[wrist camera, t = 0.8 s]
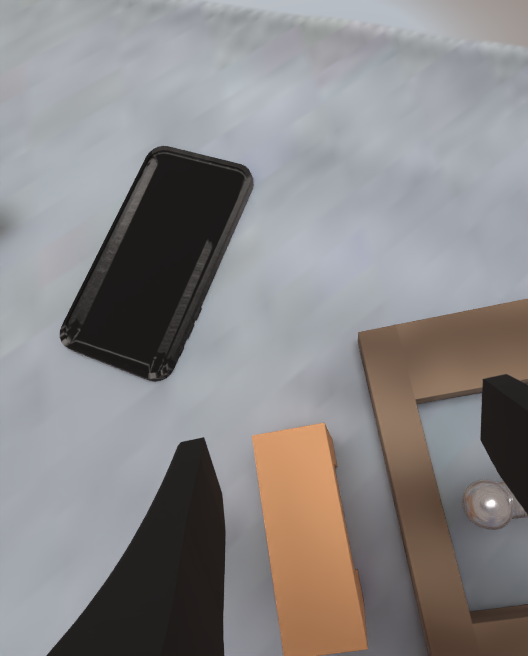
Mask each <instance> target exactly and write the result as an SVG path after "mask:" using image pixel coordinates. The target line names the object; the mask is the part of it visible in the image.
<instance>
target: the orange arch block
mask: <svg viewBox="0 0 528 656" xmlns="http://www.w3.org/2000/svg"><path fill="white" fill-rule="evenodd" d="M252 440H253V447H254V454H255V461H256V468H257V474H258V481H259V488H260V495H261V502H262V509H263V516H264V523H265V530H266V537H267V543H268V550H269V557H270V564H271V571H272V578H273V585H274V592H275V599H276V606H277V612H278V619H279V626H280V633H281V640H282V647H283V654H284V656H319V655H327V654H335V653H343V652H351V651H359V650H367V649H368V645H367V633H366V621H365V609H364V600H363V595H362V590H361V585H360V580H359V575H358V569H354V565H353V559H352V554H351V549H350V544H349V539H348V534H347V529H346V523H345V518H344V513H343V508H342V503H341V498H340V492H339V487H338V482H337V477H336V472H335V467H337V462H336V457H335V452H334V447H333V442H332V438H331V436H330V434H329V432H328V430H327V428H326V425H325V423H320V424H315V425H309V426H303V427H298V428H292V429H287V430H281V431H276V432H270V433H264V434H259V435H253V436H252Z"/></svg>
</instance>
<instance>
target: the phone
mask: <svg viewBox="0 0 528 656" xmlns="http://www.w3.org/2000/svg"><path fill="white" fill-rule="evenodd" d="M252 189H253V179H252V175H251V173H250V171H249V169H248V168H247V167H246V166H244V165H241V164H238V163H234V162H230V161H226V160H222V159H218V158H213V157H209V156H205V155H201V154H197V153H193V152H189V151H185V150H181V149H177V148H173V147H169V146H160V147H157V148H155V149H153V150H152V151H151V152H149V154H148V155H147V156H146V158H145V160H144V162H143V164H142V166H141V168H140V170H139V172H138V174H137V176H136V178H135V180H134V182H133V184H132V186H131V188H130V190H129V192H128V194H127V196H126V198H125V200H124V202H123V204H122V206H121V208H120V210H119V212H118V214H117V216H116V218H115V220H114V222H113V224H112V226H111V228H110V230H109V232H108V234H107V236H106V238H105V240H104V242H103V244H102V246H101V248H100V250H99V252H98V254H97V256H96V258H95V260H94V262H93V264H92V266H91V268H90V270H89V272H88V274H87V276H86V278H85V280H84V282H83V284H82V286H81V288H80V290H79V292H78V294H77V296H76V298H75V300H74V302H73V304H72V306H71V308H70V310H69V312H68V314H67V316H66V318H65V320H64V322H63V324H62V326H61V329H60V339H61V342H62V343H63V345H64V346H66V347H67V348H69V349H71V350H73V351H75V352H78V353H80V354H83V355H85V356H88V357H91V358H93V359H96V360H98V361H101V362H103V363H106V364H109V365H111V366H114V367H116V368H119V369H121V370H124V371H127V372H129V373H132V374H134V375H137V376H139V377H142V378H144V379H147V380H150V381H161V380H163V379H165V378H167V377H168V376H169V375H170V374H171V373H172V371H173V370H174V368H175V365H176V363H177V361H178V358H179V356H180V354H181V352H182V350H183V348H184V345H185V342H186V340H187V339H188V337H189V335H190V332H191V330H192V328H193V325H194V322H195V320H196V319H197V317H198V315H199V312H200V310H201V306H202V304H203V301H204V299H205V297H206V294H207V292H208V290H209V288H210V285H211V283H212V281H213V278H214V276H215V274H216V272H217V269H218V267H219V265H220V262H221V260H222V258H223V255H224V253H225V251H226V249H227V246H228V244H229V242H230V239H231V237H232V235H233V233H234V230H235V228H236V226H237V223H238V221H239V219H240V217H241V214H242V212H243V210H244V207H245V205H246V203H247V201H248V198H249V196H250V194H251V191H252Z"/></svg>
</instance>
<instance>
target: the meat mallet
mask: <svg viewBox="0 0 528 656" xmlns="http://www.w3.org/2000/svg"><path fill="white" fill-rule="evenodd" d="M463 508H464V511H465V513H466V515H467V516H468V518H469V519H470V520H471V521H472V522H473V523H474V524H476V525H477V526H479V527H481V528H484V529H488V530H496V529H500V528H502V527H504V526H506V525H507V524H508V523H509V522H510V521H511V519H516V518H522V517H528V514H527V513H526V512H525V510H524V509H523V508H522V506H521V505H520V503H519V502H518V501H517V499H516V498H515V496H514V495H513V494H512V492H511V491H510V489H509V488H508V487H507V485H506V484H505V482H504V481H502V482H495V481H491V480H479V481H476V482H474V483H472V484H471V485H469V486H468V487H467V489H466V490H465V492H464V495H463Z"/></svg>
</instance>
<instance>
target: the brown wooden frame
mask: <svg viewBox="0 0 528 656" xmlns="http://www.w3.org/2000/svg"><path fill="white" fill-rule="evenodd" d="M358 344H359V349H360V353H361V358H362V362H363V366H364V371H365V375H366V380H367V384H368V389H369V393H370V397H371V402H372V406H373V411H374V415H375V420H376V424H377V428H378V433H379V437H380V442H381V446H382V450H383V455H384V459H385V464H386V468H387V473H388V477H389V481H390V486H391V490H392V495H393V499H394V504H395V508H396V512H397V517H398V521H399V526H400V530H401V534H402V539H403V543H404V548H405V552H406V557H407V561H408V565H409V570H410V574H411V579H412V583H413V588H414V592H415V596H416V601H417V605H418V610H419V614H420V618H421V623H422V627H423V632H424V636H425V641H426V645H427V649H428V654H429V656H528V604H527V605H519V606H512V607H504V608H496V609H489V610H481V611H473V612H469V608H468V605H467V601H466V597H465V593H464V589H463V585H462V581H461V577H460V573H459V569H458V565H457V561H456V557H455V554H454V550H453V546H452V542H451V538H450V534H449V530H448V526H447V522H446V518H445V514H444V510H443V507H442V503H441V499H440V495H439V491H438V487H437V483H436V479H435V475H434V471H433V467H432V463H431V459H430V456H429V452H428V448H427V444H426V440H425V436H424V432H423V428H422V424H421V420H420V416H419V412H418V409H417V405H416V404H421V403H426V402H432V401H437V400H443V399H448V398H454V397H460V396H465V395H471V394H476V393H482V385H483V379H485V378H489V377H494V376H499V375H504V374H508V375H510V376H512V377H514V378H516V379H518V380H519V381H521V382H523V383H525V384H528V299H524V300H518V301H513V302H508V303H503V304H498V305H493V306H488V307H483V308H478V309H473V310H468V311H463V312H458V313H453V314H448V315H443V316H438V317H433V318H428V319H423V320H418V321H413V322H408V323H403V324H398V325H393V326H388V327H382V328H377V329H372V330H367V331H362V332H358Z"/></svg>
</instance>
